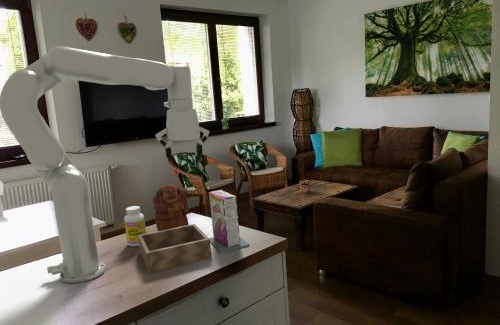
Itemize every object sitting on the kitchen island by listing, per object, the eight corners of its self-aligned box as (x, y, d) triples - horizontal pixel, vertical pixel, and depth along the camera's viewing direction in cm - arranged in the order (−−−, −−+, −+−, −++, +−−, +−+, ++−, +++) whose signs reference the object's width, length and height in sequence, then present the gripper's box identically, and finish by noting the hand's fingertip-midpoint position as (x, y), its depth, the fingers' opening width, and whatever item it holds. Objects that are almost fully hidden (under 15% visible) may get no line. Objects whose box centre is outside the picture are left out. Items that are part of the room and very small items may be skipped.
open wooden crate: (149, 272, 120) (146, 253, 119) (140, 252, 135) (137, 235, 134) (211, 257, 127) (209, 239, 126) (196, 240, 142) (194, 223, 141)
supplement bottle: (126, 248, 140) (121, 211, 138) (128, 241, 147) (123, 206, 144) (147, 245, 142) (142, 209, 139) (147, 238, 148) (143, 204, 146)
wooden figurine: (163, 238, 147) (157, 189, 144) (156, 233, 152) (150, 186, 149) (192, 229, 154) (187, 182, 150) (185, 225, 159) (179, 180, 156)
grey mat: (220, 252, 130) (220, 251, 130) (207, 240, 142) (207, 238, 142) (249, 245, 134) (249, 244, 134) (235, 234, 146) (234, 232, 146)
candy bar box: (212, 238, 141) (208, 192, 138) (225, 235, 144) (221, 189, 141) (227, 248, 132) (222, 198, 129) (241, 244, 134) (237, 195, 131)
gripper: (155, 106, 125) (159, 162, 128) (210, 103, 132) (213, 157, 134) (151, 106, 132) (156, 159, 135) (204, 103, 138) (207, 154, 141)
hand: (184, 158), depth 135 cm, fingers open, 9 cm apart
